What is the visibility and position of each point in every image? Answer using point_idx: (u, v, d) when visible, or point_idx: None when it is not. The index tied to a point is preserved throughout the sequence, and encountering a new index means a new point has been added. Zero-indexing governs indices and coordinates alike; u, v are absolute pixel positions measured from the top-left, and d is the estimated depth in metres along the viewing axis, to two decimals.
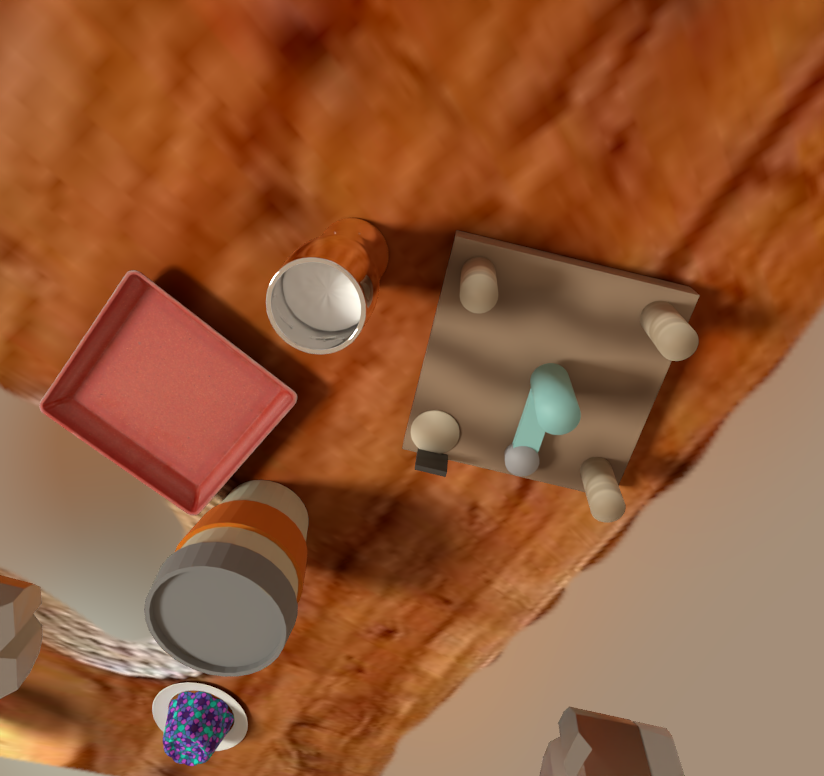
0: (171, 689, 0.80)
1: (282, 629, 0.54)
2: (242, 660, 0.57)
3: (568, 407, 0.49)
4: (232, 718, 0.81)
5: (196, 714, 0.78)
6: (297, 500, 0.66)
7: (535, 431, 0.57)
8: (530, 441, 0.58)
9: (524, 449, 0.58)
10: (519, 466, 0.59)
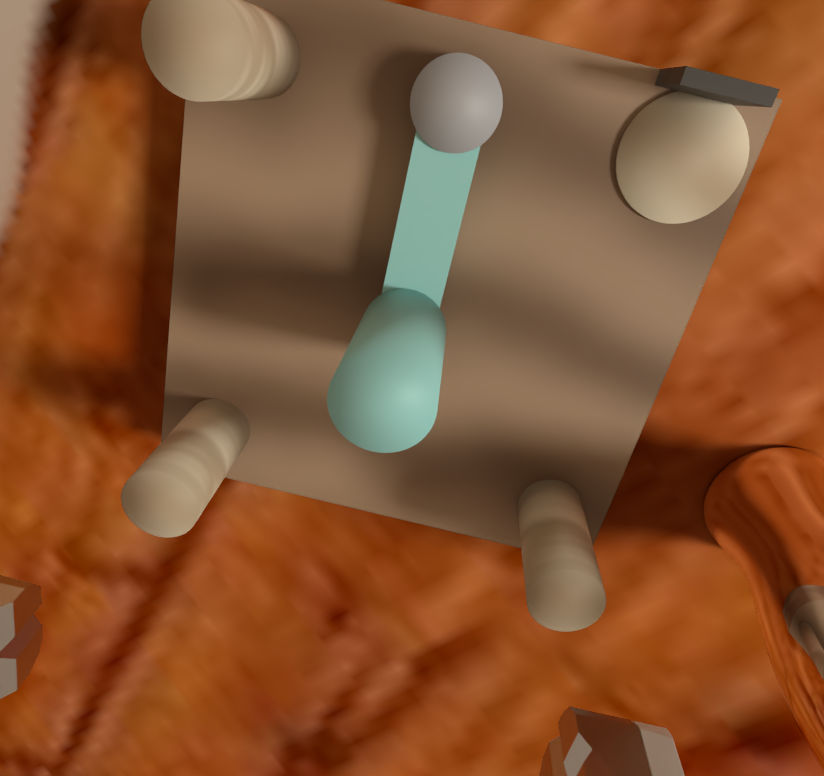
0: None
1: None
2: None
3: (361, 426, 0.19)
4: None
5: None
6: None
7: (426, 197, 0.23)
8: (437, 167, 0.22)
9: (451, 146, 0.22)
10: (462, 88, 0.21)
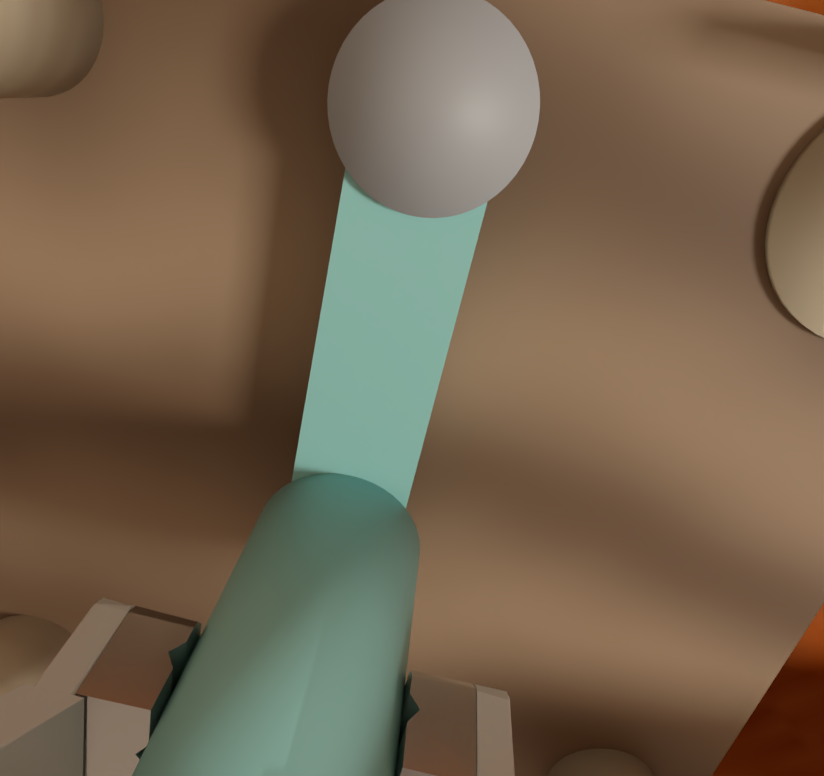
0: None
1: None
2: None
3: None
4: None
5: None
6: None
7: (372, 304, 0.11)
8: (393, 246, 0.10)
9: (423, 202, 0.10)
10: (447, 72, 0.09)
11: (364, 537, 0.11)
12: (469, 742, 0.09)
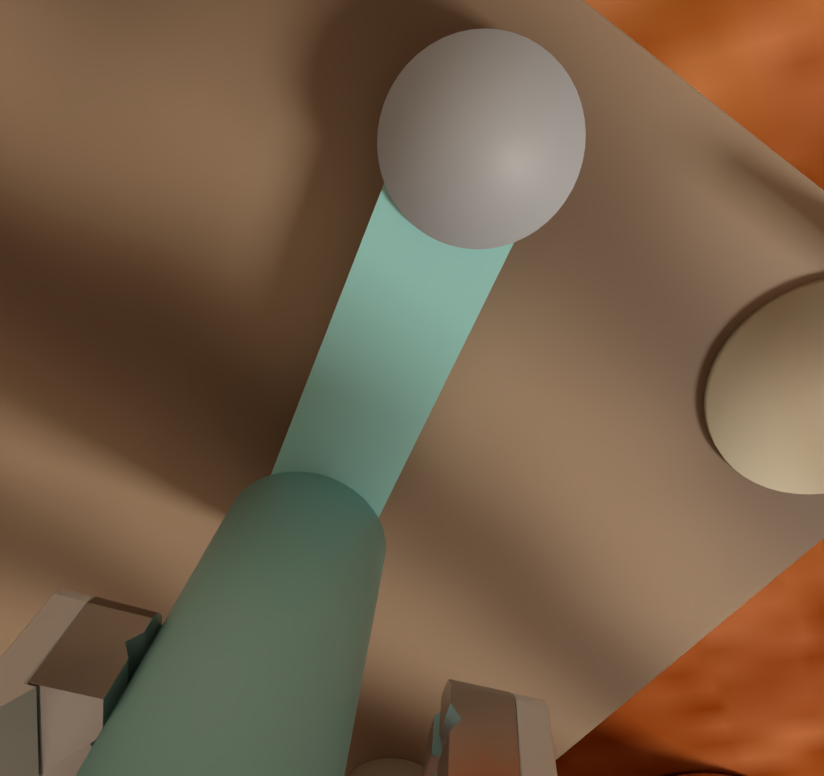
0: None
1: None
2: None
3: None
4: None
5: None
6: None
7: (384, 318, 0.11)
8: (416, 266, 0.11)
9: (454, 231, 0.10)
10: (501, 113, 0.09)
11: (339, 542, 0.11)
12: (512, 752, 0.09)
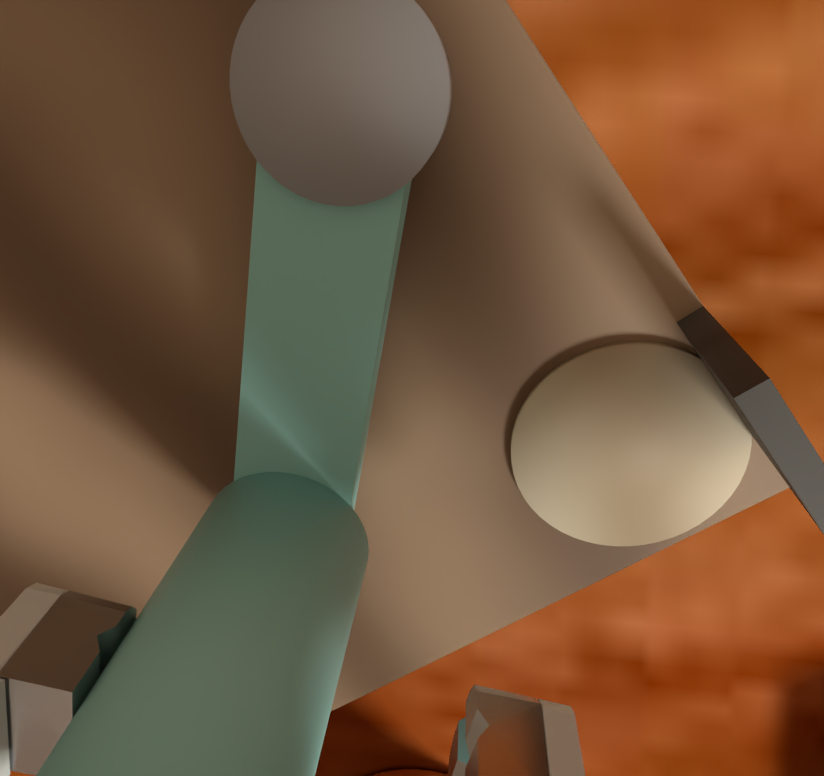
0: None
1: None
2: None
3: None
4: None
5: None
6: None
7: (297, 297, 0.10)
8: (313, 236, 0.10)
9: (337, 190, 0.10)
10: (349, 52, 0.09)
11: (297, 537, 0.11)
12: (540, 758, 0.09)
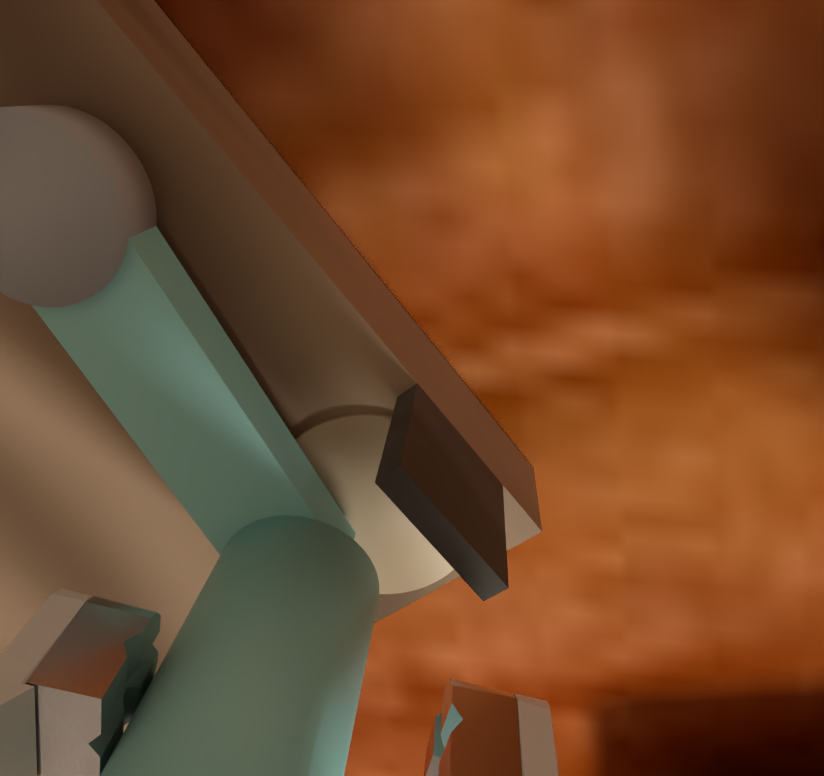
0: None
1: None
2: None
3: None
4: None
5: None
6: None
7: (138, 381, 0.11)
8: (108, 327, 0.11)
9: (85, 281, 0.10)
10: (8, 179, 0.10)
11: (252, 572, 0.11)
12: (513, 752, 0.09)
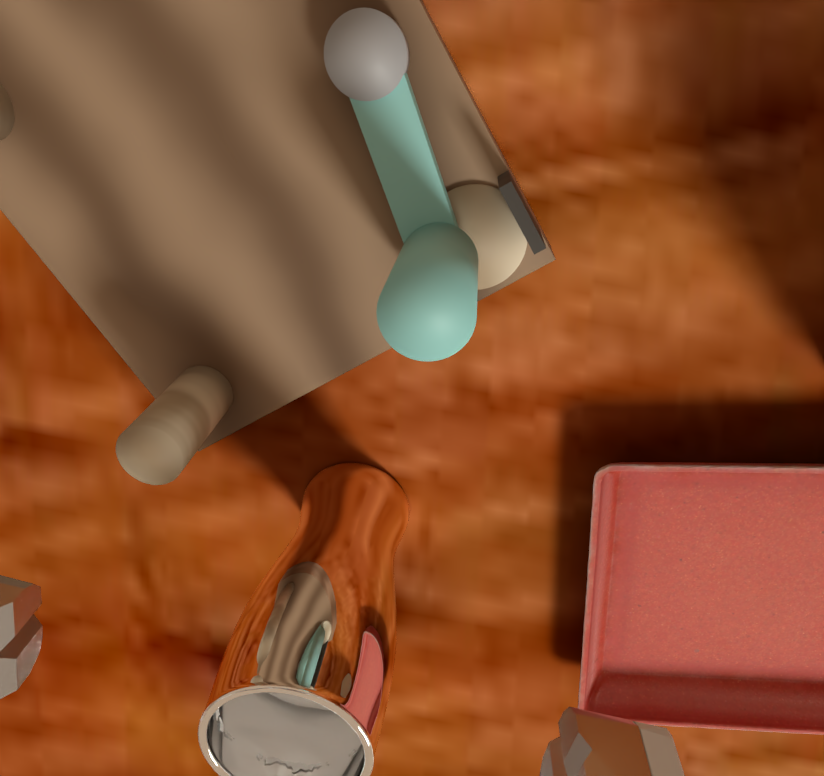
0: None
1: None
2: None
3: (422, 343, 0.21)
4: None
5: None
6: None
7: (389, 143, 0.25)
8: (382, 115, 0.25)
9: (382, 90, 0.24)
10: (361, 39, 0.23)
11: (434, 231, 0.25)
12: None
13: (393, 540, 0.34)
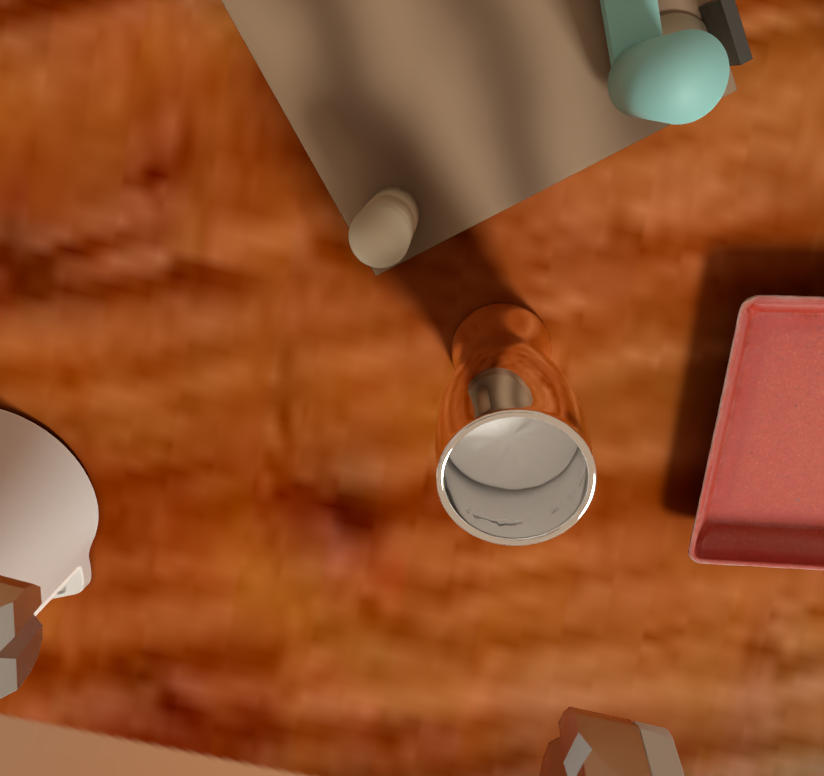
0: None
1: None
2: None
3: (675, 106, 0.25)
4: None
5: None
6: None
7: None
8: None
9: None
10: None
11: None
12: None
13: None
